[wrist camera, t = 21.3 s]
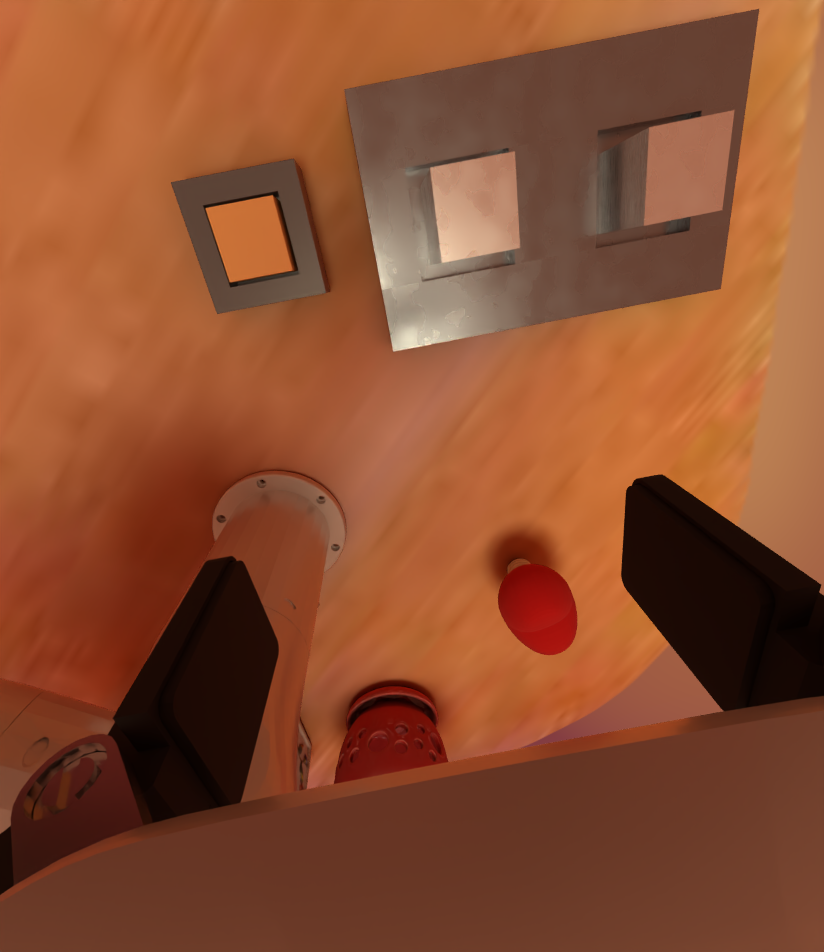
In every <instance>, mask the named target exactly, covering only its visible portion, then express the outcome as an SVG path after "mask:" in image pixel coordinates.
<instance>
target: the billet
mask: <svg viewBox="0 0 824 952" xmlns="http://www.w3.org/2000/svg"><path fill="white" fill-rule="evenodd" d="M733 119H734V110H732V111H727V112H722V113H717V114H712V115H707V116H702V117H698V118H693V119H688V120H683V121H678V122H673V123H668V124H663V125H658V126H653V127H649V128H647V129H645V130H643V131H641V132H640V133H638V134H636V135H634V136H632V137H630V138H628V139H627V140H625V141H623V142H621V143H619V144H617V145H615V146H614V147H612V148H610V149H608V150H606V151H604V152H602V153H600V168H599V234H602V233H607V232H613V231H618V230H624V229H630V228H635V227H641V226H646V225H651V224H656V223H661V222H666V221H671V220H676V219H681V218H686V217H691V216H696V215H701V214H705V213H710V212H715V211H720V210H722V208H723V200H724V192H725V184H726V176H727V167H728V159H729V151H730V143H731V135H732V127H733Z"/></svg>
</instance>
